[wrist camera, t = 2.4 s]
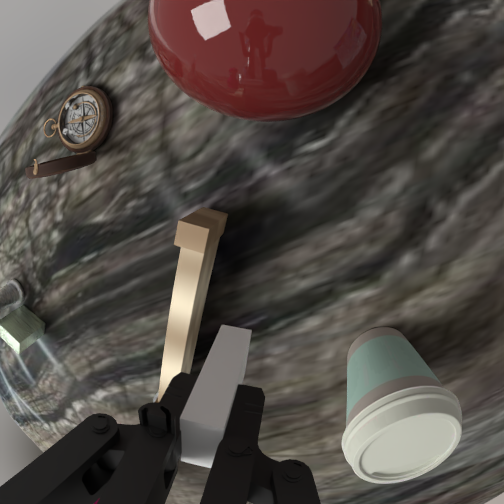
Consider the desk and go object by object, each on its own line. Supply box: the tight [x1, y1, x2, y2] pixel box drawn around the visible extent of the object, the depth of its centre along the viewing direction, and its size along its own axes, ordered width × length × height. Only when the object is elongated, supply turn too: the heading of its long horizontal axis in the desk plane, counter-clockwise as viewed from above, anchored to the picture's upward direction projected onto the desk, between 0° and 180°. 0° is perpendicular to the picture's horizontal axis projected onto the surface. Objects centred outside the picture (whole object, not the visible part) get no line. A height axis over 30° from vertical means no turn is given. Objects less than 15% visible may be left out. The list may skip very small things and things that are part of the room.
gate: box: [155, 207, 228, 403], centre depth 25 cm, size 18×2×6 cm, turn 165°
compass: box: [25, 86, 113, 179], centre depth 21 cm, size 8×8×7 cm
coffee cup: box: [342, 327, 462, 483], centre depth 21 cm, size 8×9×12 cm
